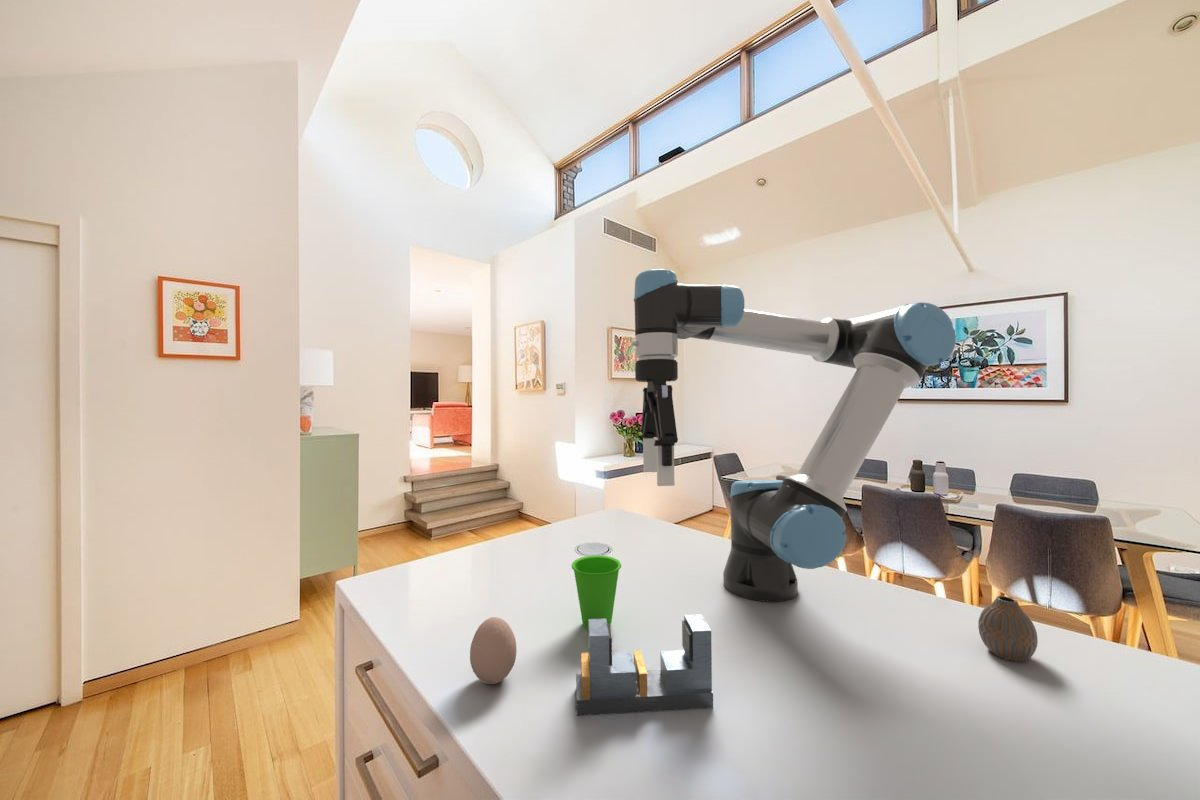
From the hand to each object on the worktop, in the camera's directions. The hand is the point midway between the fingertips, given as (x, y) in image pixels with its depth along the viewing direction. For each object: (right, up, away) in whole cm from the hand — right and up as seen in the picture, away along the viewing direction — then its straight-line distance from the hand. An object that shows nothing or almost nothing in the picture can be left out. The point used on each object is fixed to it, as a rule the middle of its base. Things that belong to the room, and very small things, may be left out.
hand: (657, 478), depth 80 cm
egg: (-26, -27, -15) cm, 40 cm away
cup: (-11, -27, +1) cm, 29 cm away
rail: (-5, -27, -19) cm, 33 cm away
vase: (+54, -26, -9) cm, 61 cm away
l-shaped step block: (-9, -25, -19) cm, 32 cm away
